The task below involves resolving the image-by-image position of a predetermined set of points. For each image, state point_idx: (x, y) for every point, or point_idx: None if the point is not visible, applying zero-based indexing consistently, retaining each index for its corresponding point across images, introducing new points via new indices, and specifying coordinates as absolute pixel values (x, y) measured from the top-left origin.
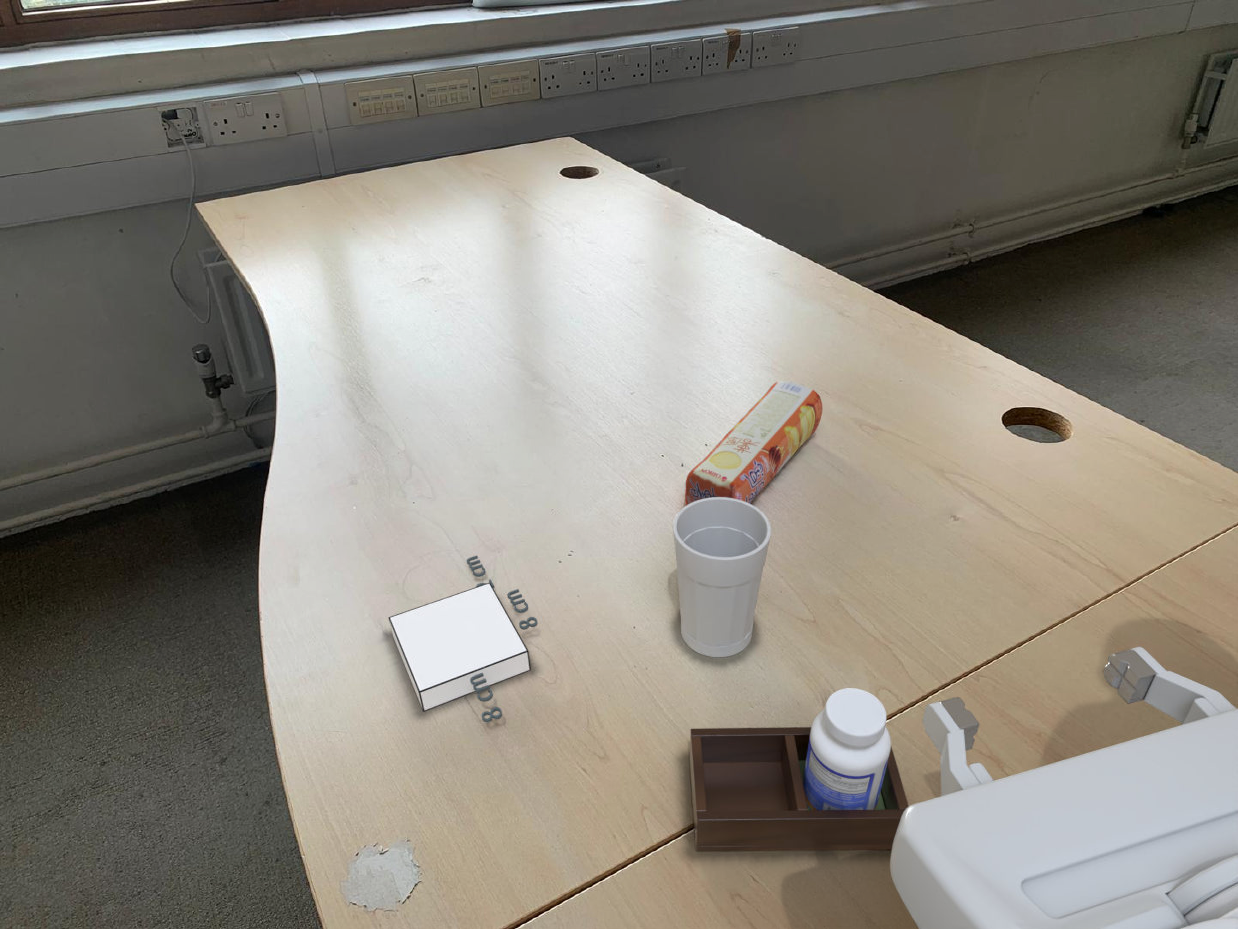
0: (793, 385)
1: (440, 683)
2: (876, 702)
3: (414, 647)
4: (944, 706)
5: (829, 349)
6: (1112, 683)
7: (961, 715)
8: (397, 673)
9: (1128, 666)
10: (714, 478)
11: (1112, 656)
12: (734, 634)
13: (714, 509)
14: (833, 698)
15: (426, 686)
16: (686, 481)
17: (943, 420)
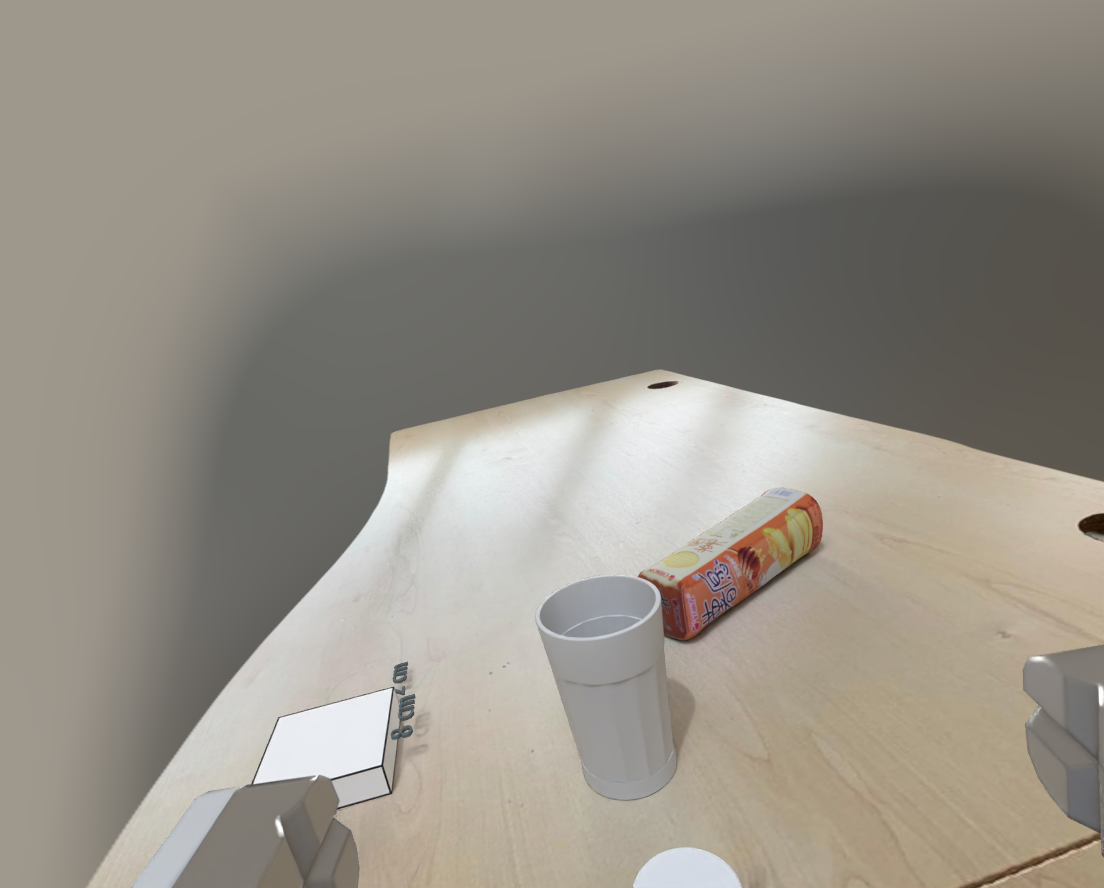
0: (783, 490)
1: None
2: (731, 882)
3: (276, 751)
4: (230, 802)
5: (857, 476)
6: (1070, 803)
7: (238, 844)
8: None
9: (1098, 698)
10: (661, 577)
11: (1030, 666)
12: (632, 764)
13: (608, 590)
14: (654, 863)
15: None
16: None
17: (993, 530)
